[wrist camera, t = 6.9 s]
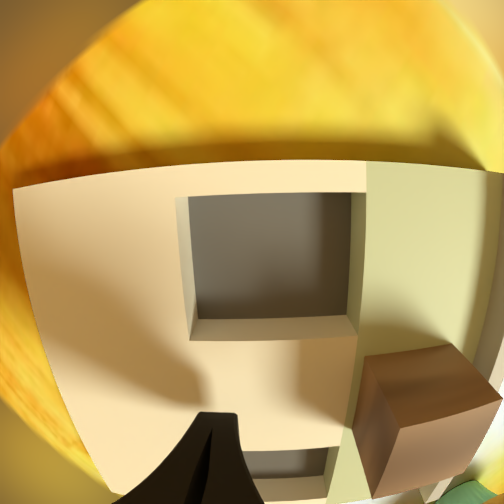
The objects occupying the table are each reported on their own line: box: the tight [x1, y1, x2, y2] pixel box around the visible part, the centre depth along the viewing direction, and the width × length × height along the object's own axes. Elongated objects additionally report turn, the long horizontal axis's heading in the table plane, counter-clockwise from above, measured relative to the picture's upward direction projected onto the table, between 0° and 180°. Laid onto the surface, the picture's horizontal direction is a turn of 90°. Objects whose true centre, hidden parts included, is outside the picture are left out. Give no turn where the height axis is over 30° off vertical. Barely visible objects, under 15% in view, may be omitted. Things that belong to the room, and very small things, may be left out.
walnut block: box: [351, 343, 503, 499], centre depth 9 cm, size 4×4×4 cm
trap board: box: [13, 160, 504, 504], centre depth 12 cm, size 18×20×4 cm
